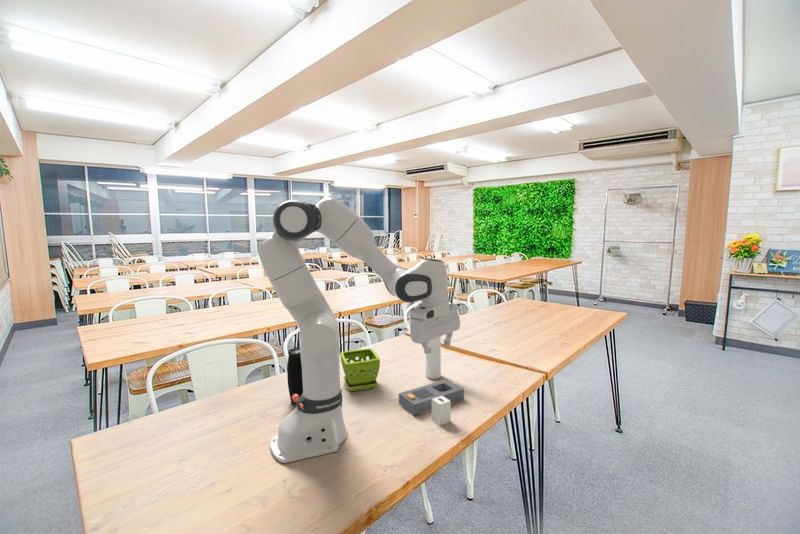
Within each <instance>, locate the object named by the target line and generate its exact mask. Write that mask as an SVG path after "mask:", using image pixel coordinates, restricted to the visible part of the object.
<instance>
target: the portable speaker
mask: <svg viewBox="0 0 800 534" xmlns="http://www.w3.org/2000/svg"><path fill="white" fill-rule="evenodd" d="M287 354H288V358H287V364H286V365H287V366H286V372H287V375H286V376H287V387H288V388H287V389H288V393H289V398H290V403H291V404H292V405H294V404H295V406H297V402H294V401H293V399H292V396H293V395H294V394H298V396H299V397H300V396H301V395H302V393H303V381H302V365H301V355H300V346H299V347H294V348H289V349H288V351H287Z"/></svg>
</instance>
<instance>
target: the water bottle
mask: <svg viewBox="0 0 800 534" xmlns="http://www.w3.org/2000/svg"><path fill="white" fill-rule="evenodd" d="M441 338H442V336H440V337H437V338H434V339H432V340H429V341H428V344H427V345H428V347H430V348H431V353H429V354H425V353H424V354H425V355H424V356H425V377H426V378H427V379H430V380H437V379H441V375H442V371H441V366H442V362H441V361H442V358H441V357H442V356H441V355H442V354H441V351H442V349H441V340H442V339H441Z"/></svg>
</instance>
